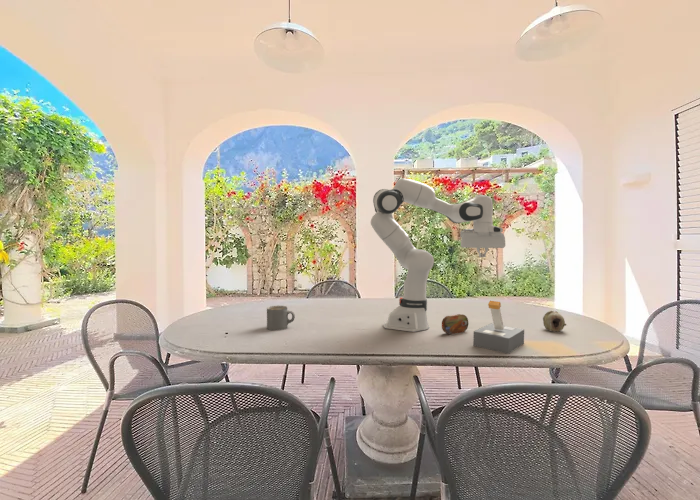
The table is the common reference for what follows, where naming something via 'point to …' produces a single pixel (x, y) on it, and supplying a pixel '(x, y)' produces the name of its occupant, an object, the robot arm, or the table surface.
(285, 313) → the coffee mug
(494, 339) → the switch box
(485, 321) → the table surface
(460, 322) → the tin
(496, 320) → the breaker lever
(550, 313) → the beige hollow lumpy pot
